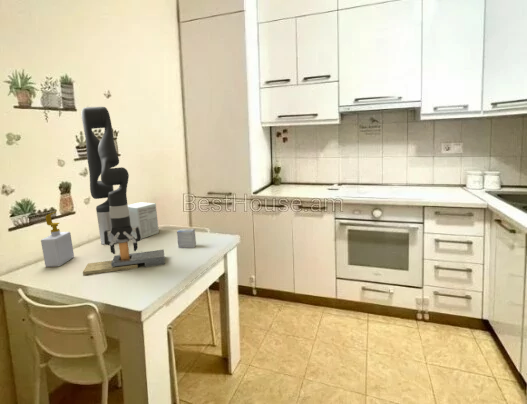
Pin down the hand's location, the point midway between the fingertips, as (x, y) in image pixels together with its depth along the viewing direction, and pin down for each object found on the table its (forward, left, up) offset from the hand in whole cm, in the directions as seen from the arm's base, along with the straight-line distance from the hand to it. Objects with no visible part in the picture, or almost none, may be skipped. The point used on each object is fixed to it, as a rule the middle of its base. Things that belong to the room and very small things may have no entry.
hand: (124, 252), depth 148 cm
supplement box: (-49, +4, -6) cm, 50 cm away
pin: (0, 0, -6) cm, 6 cm away
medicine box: (-16, +27, -6) cm, 32 cm away
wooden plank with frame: (0, 0, -6) cm, 6 cm away
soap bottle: (-17, -30, -6) cm, 35 cm away
